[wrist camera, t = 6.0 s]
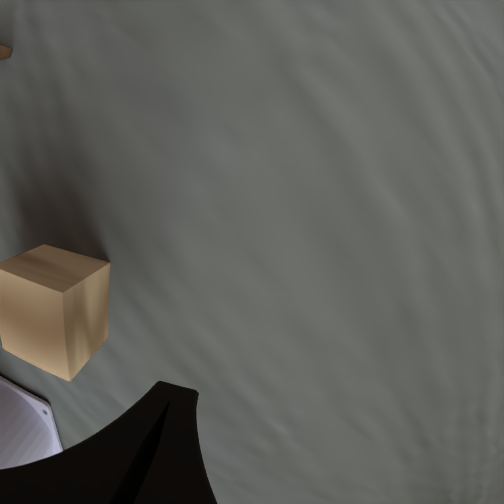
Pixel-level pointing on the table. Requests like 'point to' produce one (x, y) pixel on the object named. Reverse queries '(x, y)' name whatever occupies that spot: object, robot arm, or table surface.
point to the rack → (5, 52)
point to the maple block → (54, 308)
